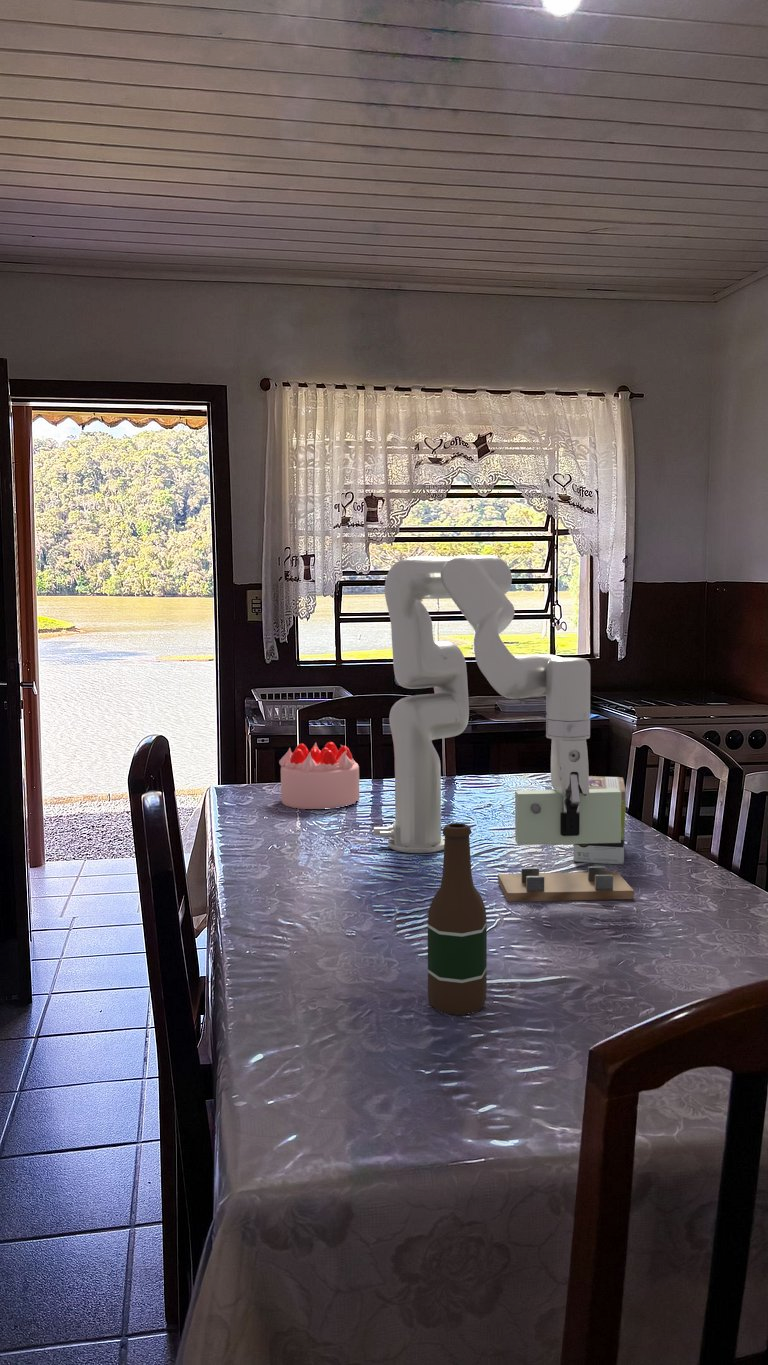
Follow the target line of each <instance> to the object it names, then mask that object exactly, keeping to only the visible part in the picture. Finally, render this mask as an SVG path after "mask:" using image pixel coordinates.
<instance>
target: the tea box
mask: <svg viewBox="0 0 768 1365" xmlns="http://www.w3.org/2000/svg"><path fill="white" fill-rule="evenodd" d="M614 788H617V789H618V790H619V791H621V843H589V844H572V845H573V846H572V847H573V850H572V851H573V853H572V854H573V861H574V862H576V863H587V864H609V865H623V864H624V862H625V834H626V831H625V829H626V807H627V806H626V805H627V804H626V802H627V801H626V800H627V799H626V798H627V791H626V785H625V780H624V777H620V776H596V775H594V776H593V775H589V789H614Z"/></svg>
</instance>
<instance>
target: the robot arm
mask: <svg viewBox="0 0 768 1365" xmlns="http://www.w3.org/2000/svg"><path fill="white" fill-rule="evenodd" d="M512 578H513V577H512V571H511V569H510V567H509V565H508V564H507V562H505V560H503V559H502V558H501V557H499V556H496V555H492V554H490V555H489V554H486V555H485V554H478V555H477V554H464V555H458V556H411V557H406V558H405V557H404V558H402V559H400V560H398V561H396V562H395V563H394V564H393V565H392V566H391V567H390V569H389V570H388V573H387V575H386V577H385V583H384V597H385V598H384V599H385V602H386V608H387V611H388V615H389V619H390V629H391V633H390V634H391V647H392V648H391V650H392V662H393V663H392V664H393V665H392V666H393V672H394V678H395V680H396V682H397V685H399V686H400V687H402V688H405V689H411V690H413V689H415V690H417V689H427V688H433V691H434V693H427V694H415V695H408V696H405V697H402V698H400V699H399V700H398V701H397V700H396V702H394V704H393V705H392V706H391V708H390V711H389V718H388V719H389V728H390V732H391V736H392V742H393V744H392V745H393V753H394V754H393V756H394V796H395V798H394V809H395V812H394V814H395V818H394V819H395V820H394V821H393V823H392V824H393V825H390V824H389V825H388V826H385V827H384V826H374V827H373V836H374V837H379V838H380V839H382V838H383V839H386V838H389V839H388V840H387V841H388V842H387V844H388V847H389V848H390V849H392V850H393V851H396V852H399V853H400V852H401V853H408V854H431V853H436V852H440V851H444V843H445V836H444V835H442V802H441V801H442V794H441V793H442V792H441V791H442V790H441V789H442V782H441V781H442V780H441V779H442V775H441V774H442V773H441V760H440V756H439V754H438V752H437V750H436V747H434V744H433V741H434V740H439V739H447V738H453V737H456V736H457V737H458V736H460V735H461V734H462V733H463V732H464V731H465V730H466V728H467V726H468V723H469V717H470V704H469V702H470V701H469V689H468V688H469V687H468V672H467V663H466V659H465V656H464V653H463V652H462V650H461V649H460V648H459V646H458V645H457V644H455V643H453V642H451V641H445V640H438V641H435V639H434V634H433V622H432V618H431V616H430V614H429V612H428V610H427V607H426V606H425V605H424V604H423V602H421V601H422V600H429V599H430V600H438V599H451V600H452V601H453V602H454V604H455V605H456V607H457V608H458V609H459V611H460V612H461V614H462V615H463V617H464V618H465V619H466V621H467V622H468V624H469V625H470V626H471V628H472V629H473V631H474V637H473V650H474V656H475V657H474V658H475V661H476V664H477V666H478V668H479V670H480V672H481V673H482V675H483V676H484V678H486V680H487V681H488V683H489V685H490V686H491V687H492V688H493V689H494V690H495V691H496V693H498V694H499V695H500V696H502V697H504V698H506V699H511V700H518V699H525V698H534V697H535V698H536V697H538V698H539V697H544V696H545V698H546V699H545V701H546V702H545V713H546V714H545V721H546V722H545V729H546V730H545V737H546V738H547V739H550V740H551V744H550V746H551V750H550V782H551V786H552V789H553V790H556V791H557V792H558V793H559V794H560V795H562V812H563V813H561V835H562V836H578V835H579V827H580V813H579V803H580V799H579V791H580V792H581V793H582V795H584V796H588V794H589V776H590V775H589V773H590V772H589V770H590V769H589V756H588V754H589V753H588V745H587V744H588V743H587V740H588V739H590V738H591V664H590V662H589V661H588V660H587V659H585V658H582V657H570V656H569V657H568V656H567V657H566V656H565V657H562V656H558V655H555V654H549V653H540V654H525V655H523V654H522V655H513V654H512V653H511V652H510V650H509V649H508V647H507V646H506V645H505V643H504V642H503V640H502V639H501V637H500V634H501V633H502V632H504V631H505V630H506V629H507V628H508V627H509V625H510V624H511V623H512V621H513V619H514V617H515V607H514V605H513V603H512V602H511V601H510V600H509V598H508V597H507V595H506V594H507V593H508V592H509V590H510V589H511V586H512V581H513V579H512ZM566 792H570V795H566V794H567V793H566ZM567 799H570V800H568V801H567Z"/></svg>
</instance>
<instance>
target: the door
mask: <svg viewBox="0 0 768 1365" xmlns="http://www.w3.org/2000/svg"><path fill="white" fill-rule="evenodd" d="M566 793H567V794H566V795H570V792H566ZM514 798H515V799H514V800H515V801H514V802H515V803H514V804H515V806H514V807H515V808H514V809H515V810H514V812H515V814H514V817H515V819H514V820H515V821H514V825H515V826H514V827H515V828H514V830H515V833H514V835H515V836H514V837H515V839H514V841H515V843H516V845H518V846H530V845H531V846H534V845H535V846H537V845H538V846H540V845H544V846H545V845H573V844H589V843H621V791H619V790H618V789H617V788H614V789H589V794H588V796H584V795H582V793H581V792H580V791H579V799H580V803H579V813H580V827H579V835H578V836H562V835H561V813H563V812H562V795H560V794H559V793H558V792H557V791H556V790H555V789H525V790H514ZM568 800H570V799H567V801H568Z"/></svg>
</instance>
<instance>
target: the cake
mask: <svg viewBox="0 0 768 1365" xmlns="http://www.w3.org/2000/svg"><path fill="white" fill-rule="evenodd" d="M278 763H279V765H280V793H281V794H280V797H281V803H282V804H283V805H284V806H286V807H289V808H291V809H296V808H297V810H305V809H325V808H336V807H342V806H346V805H349V804H352V803H355V802H356V801H358V800H359V801H360V766H359V764H358V763H357V762H356V761H355V760H354V758H353V754H352V752H351V751H350V749H349V747H348V746H346V745H342V744H340V747H339V748H338V747H337V745H336V744H335V743H334V742H333V741H329V742H327V743H326V744H325V745H324V747H323V748H322V749H321V750H320V749H319V746H318V744H317V742H315V743H314V745H313V746H312V747H311V749H310V750H309V749H308V747H307V745H306V744H304V743H299V744H298V745H297V746H296V747H295V749H294V750H293V752H292V749H291V747H289V748H288V750H287V752H286V753H285V754H284V755H283V756H282V757H281V759H279V760H278ZM359 801H358V802H359Z"/></svg>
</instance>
